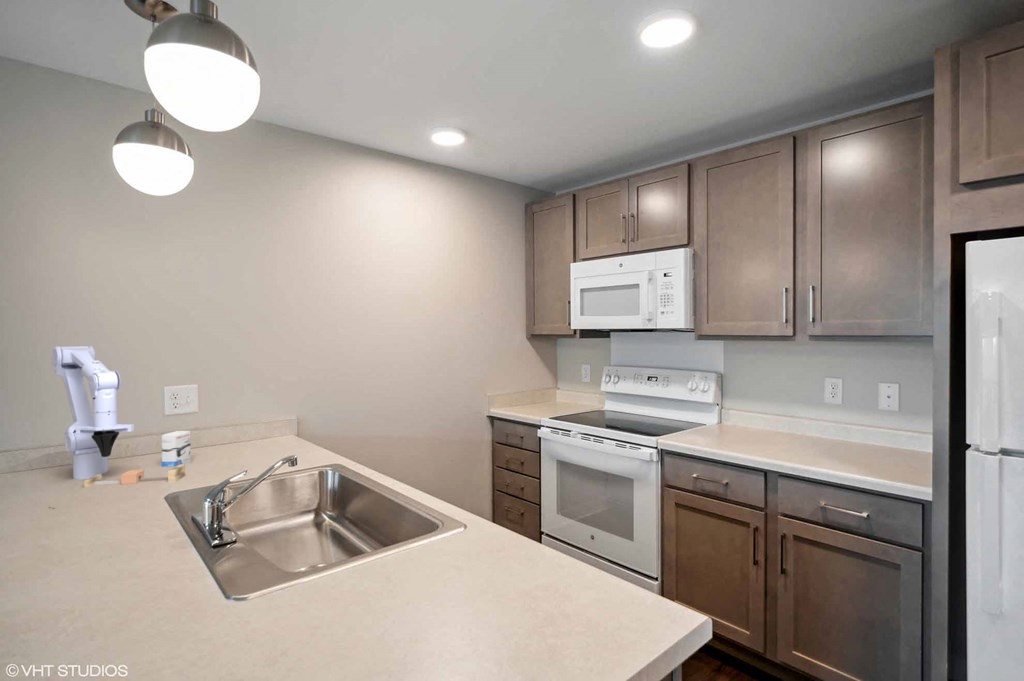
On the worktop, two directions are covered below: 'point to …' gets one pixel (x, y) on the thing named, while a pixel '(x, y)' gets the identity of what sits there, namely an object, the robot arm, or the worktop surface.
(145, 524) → the worktop surface
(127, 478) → the block
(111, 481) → the rail board
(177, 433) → the ink box
